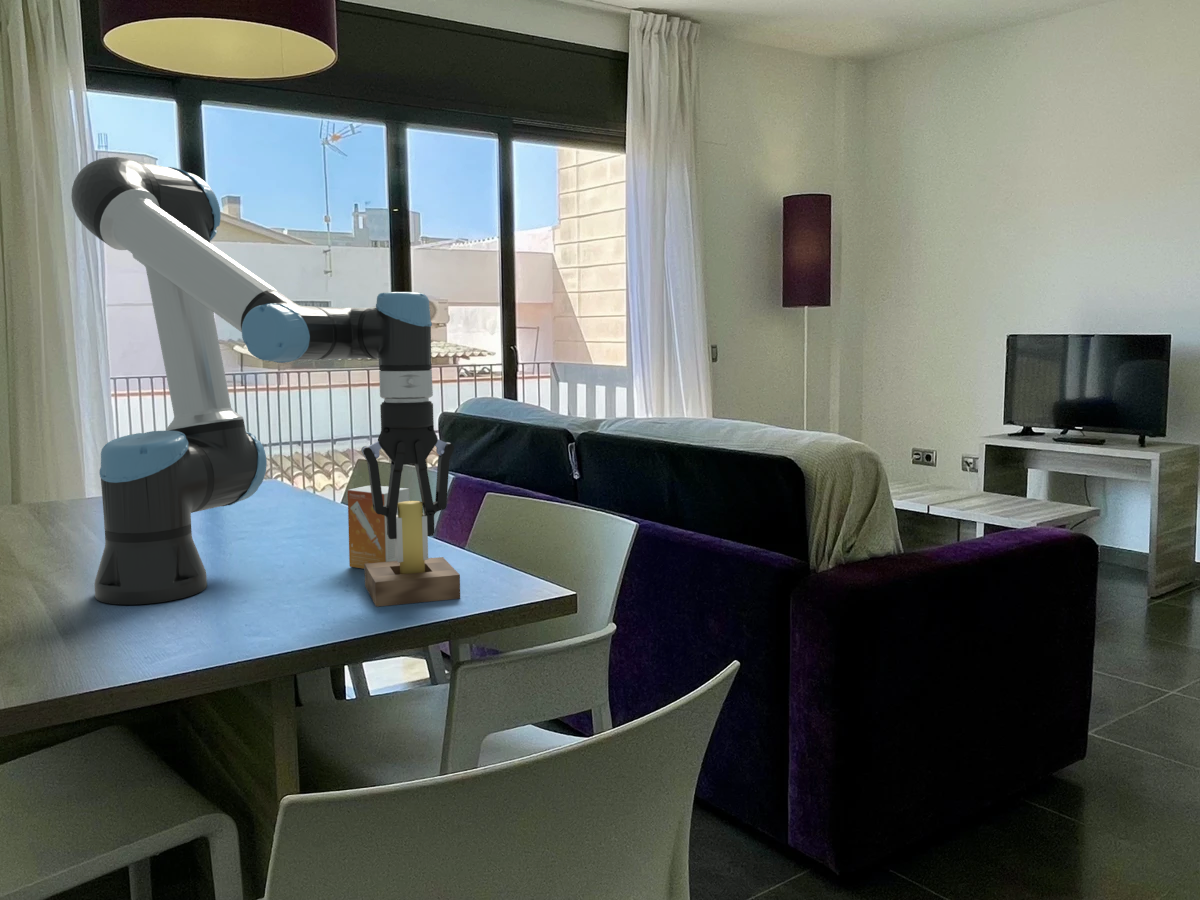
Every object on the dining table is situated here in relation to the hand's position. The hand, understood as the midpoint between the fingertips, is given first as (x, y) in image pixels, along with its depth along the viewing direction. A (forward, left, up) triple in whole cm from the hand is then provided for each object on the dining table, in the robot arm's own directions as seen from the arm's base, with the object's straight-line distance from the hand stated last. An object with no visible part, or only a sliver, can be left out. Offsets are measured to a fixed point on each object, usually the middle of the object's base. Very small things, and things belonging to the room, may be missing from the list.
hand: (411, 558), depth 143 cm
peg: (0, 0, -4) cm, 4 cm away
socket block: (0, 0, -5) cm, 5 cm away
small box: (-2, +18, -5) cm, 19 cm away
